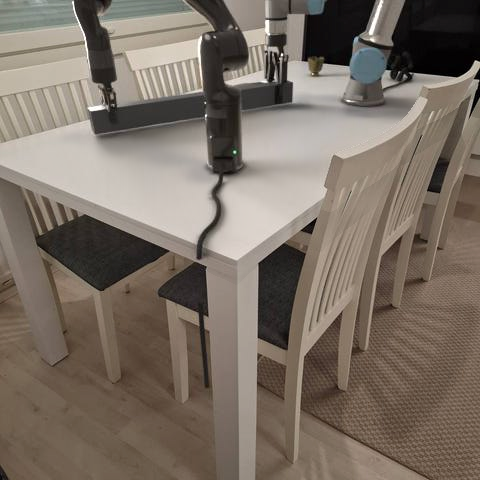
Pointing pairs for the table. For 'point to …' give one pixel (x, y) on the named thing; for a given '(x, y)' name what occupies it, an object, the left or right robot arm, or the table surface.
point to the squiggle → (400, 66)
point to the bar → (178, 108)
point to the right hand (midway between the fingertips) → (274, 101)
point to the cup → (315, 65)
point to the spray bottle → (250, 83)
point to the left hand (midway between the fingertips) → (112, 120)
